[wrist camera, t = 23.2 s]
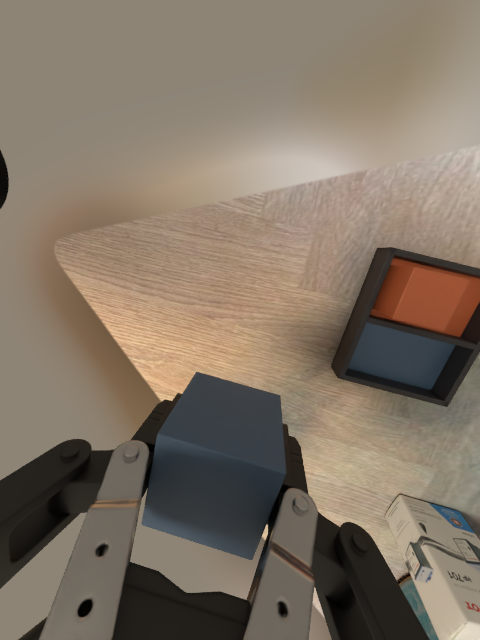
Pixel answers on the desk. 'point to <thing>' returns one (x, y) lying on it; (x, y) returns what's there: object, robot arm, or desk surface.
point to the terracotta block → (420, 296)
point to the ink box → (440, 564)
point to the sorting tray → (410, 337)
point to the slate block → (217, 466)
